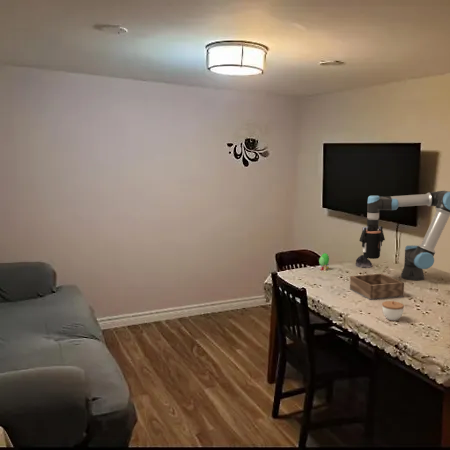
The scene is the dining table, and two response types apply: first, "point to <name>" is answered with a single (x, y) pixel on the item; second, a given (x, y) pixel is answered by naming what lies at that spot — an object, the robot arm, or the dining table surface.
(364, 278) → the open wooden box
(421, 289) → the dining table surface
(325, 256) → the green toy tree
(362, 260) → the crystal cluster
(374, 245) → the coffee jar
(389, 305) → the lidded jar
